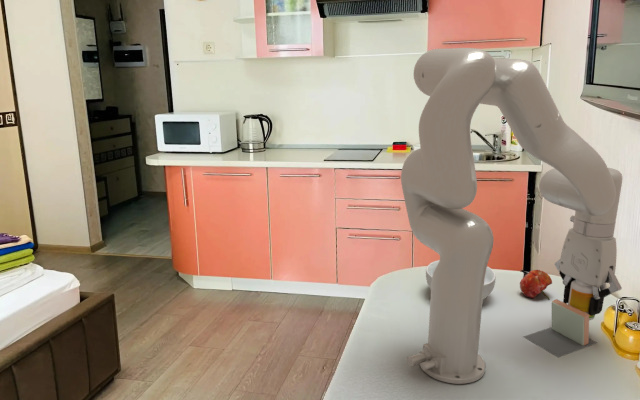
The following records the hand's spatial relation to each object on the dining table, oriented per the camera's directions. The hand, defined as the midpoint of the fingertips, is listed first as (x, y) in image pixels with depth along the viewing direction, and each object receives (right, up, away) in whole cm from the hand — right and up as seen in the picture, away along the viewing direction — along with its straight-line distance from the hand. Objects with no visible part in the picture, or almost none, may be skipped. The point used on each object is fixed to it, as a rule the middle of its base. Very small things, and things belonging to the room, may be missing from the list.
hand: (581, 307), depth 113 cm
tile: (-2, -6, 0) cm, 7 cm away
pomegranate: (-2, -2, +20) cm, 20 cm away
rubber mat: (-5, -7, -1) cm, 9 cm away
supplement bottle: (0, -2, +1) cm, 2 cm away
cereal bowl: (-21, -2, +20) cm, 29 cm away
